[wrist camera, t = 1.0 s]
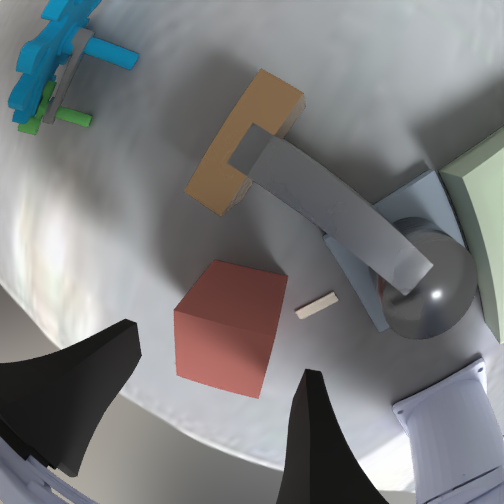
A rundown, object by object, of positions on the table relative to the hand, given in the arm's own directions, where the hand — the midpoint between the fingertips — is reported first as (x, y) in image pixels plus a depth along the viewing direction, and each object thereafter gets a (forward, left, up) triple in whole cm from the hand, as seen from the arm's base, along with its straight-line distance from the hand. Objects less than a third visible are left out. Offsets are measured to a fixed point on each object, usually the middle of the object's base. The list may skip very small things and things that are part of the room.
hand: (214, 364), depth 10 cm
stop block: (0, 0, -5) cm, 5 cm away
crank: (+1, -7, -5) cm, 9 cm away
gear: (+17, -2, -6) cm, 18 cm away
